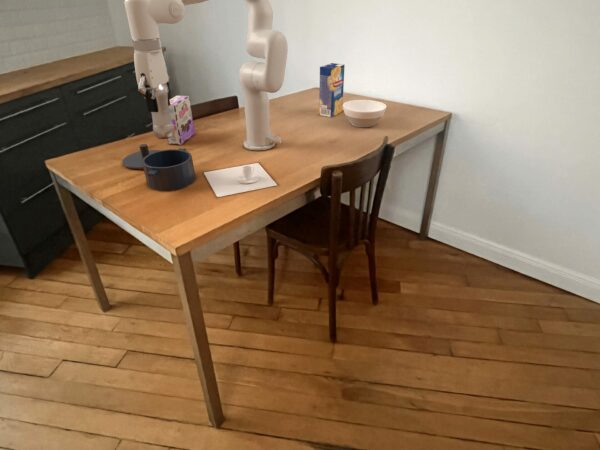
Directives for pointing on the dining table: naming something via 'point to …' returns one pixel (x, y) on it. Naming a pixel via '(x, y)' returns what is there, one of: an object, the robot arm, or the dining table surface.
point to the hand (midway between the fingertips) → (159, 108)
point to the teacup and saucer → (239, 179)
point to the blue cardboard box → (331, 89)
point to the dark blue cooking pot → (169, 169)
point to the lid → (137, 157)
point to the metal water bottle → (162, 115)
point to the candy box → (181, 119)
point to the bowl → (364, 112)
